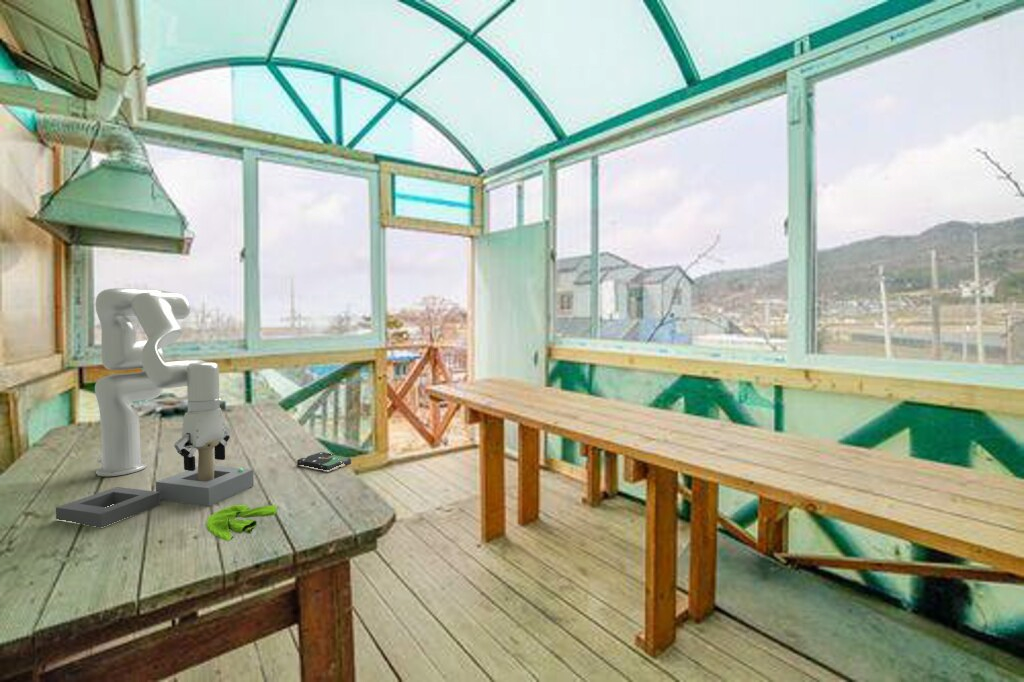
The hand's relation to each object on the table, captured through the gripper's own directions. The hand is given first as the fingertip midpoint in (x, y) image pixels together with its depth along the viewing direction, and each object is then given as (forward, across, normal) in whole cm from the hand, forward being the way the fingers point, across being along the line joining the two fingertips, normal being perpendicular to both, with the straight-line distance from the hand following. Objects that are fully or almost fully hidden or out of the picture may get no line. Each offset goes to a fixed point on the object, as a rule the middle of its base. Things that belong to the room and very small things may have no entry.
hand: (205, 464), depth 131 cm
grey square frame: (+8, +17, -12) cm, 22 cm away
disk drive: (+9, -30, +17) cm, 36 cm away
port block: (+8, 0, 0) cm, 8 cm away
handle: (+8, 0, 0) cm, 8 cm away
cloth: (+9, +12, +25) cm, 29 cm away
